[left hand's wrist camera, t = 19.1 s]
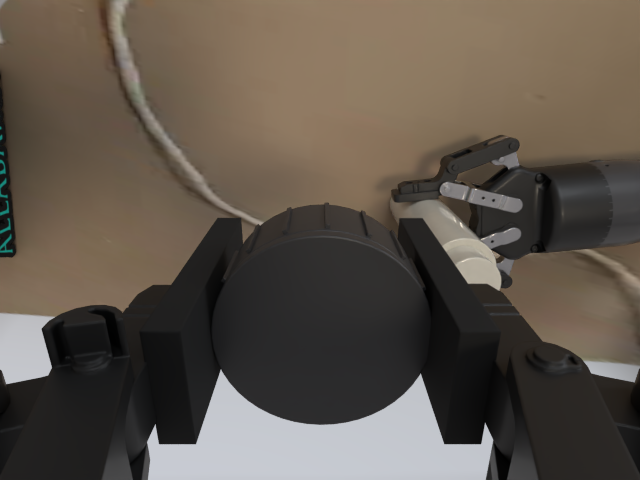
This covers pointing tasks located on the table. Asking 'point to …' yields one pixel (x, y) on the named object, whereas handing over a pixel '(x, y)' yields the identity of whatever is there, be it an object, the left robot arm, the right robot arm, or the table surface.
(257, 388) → the lid
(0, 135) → the decorative sign
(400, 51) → the table surface
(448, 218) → the jar
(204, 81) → the table surface
